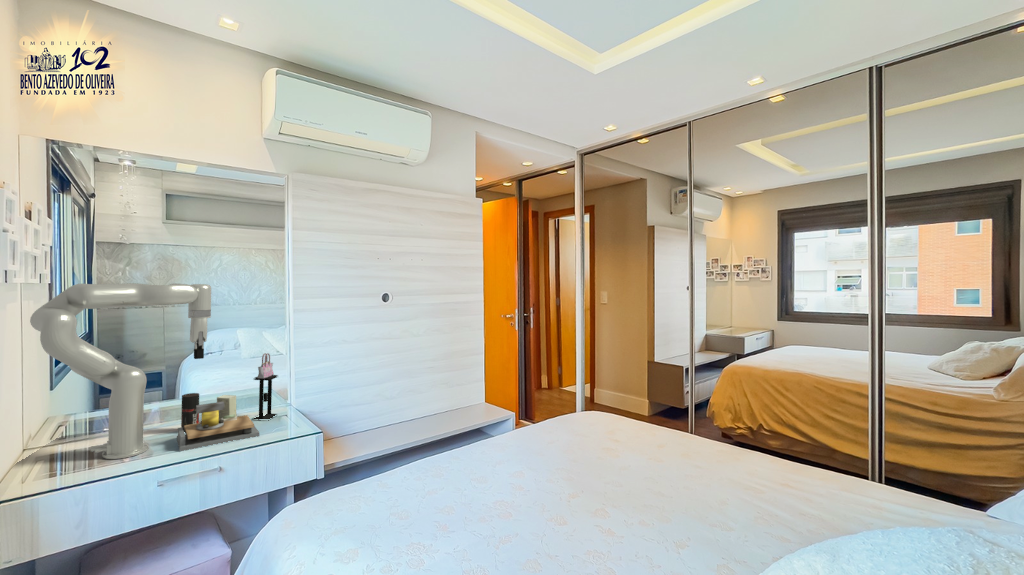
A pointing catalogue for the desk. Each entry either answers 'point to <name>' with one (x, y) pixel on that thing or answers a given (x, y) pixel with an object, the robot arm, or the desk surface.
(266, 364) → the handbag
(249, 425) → the level plate
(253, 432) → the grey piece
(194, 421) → the deodorant
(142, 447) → the robot arm
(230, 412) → the skincare box
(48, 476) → the desk surface
